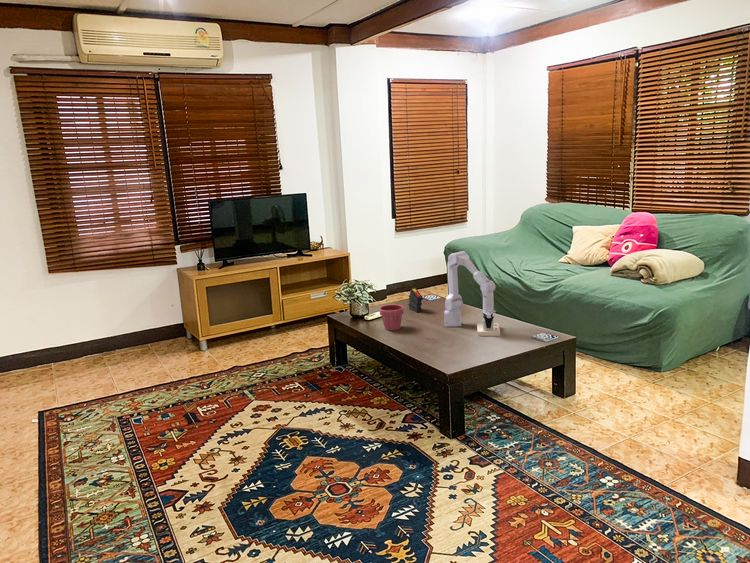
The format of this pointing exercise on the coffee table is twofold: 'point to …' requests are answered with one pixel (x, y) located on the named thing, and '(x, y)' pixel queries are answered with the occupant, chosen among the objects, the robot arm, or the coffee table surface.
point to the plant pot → (392, 316)
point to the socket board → (488, 332)
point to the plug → (486, 327)
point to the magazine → (415, 300)
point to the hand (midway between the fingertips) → (488, 326)
